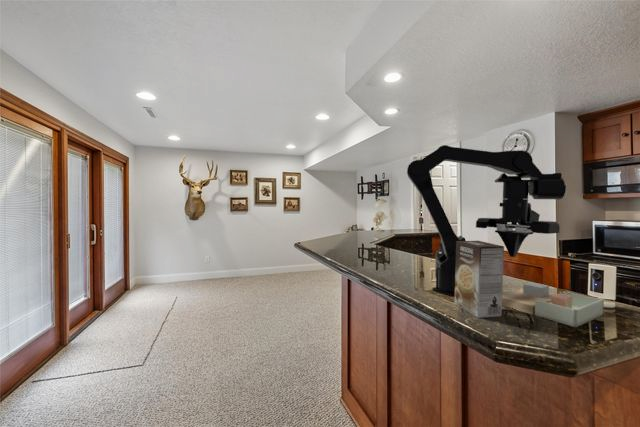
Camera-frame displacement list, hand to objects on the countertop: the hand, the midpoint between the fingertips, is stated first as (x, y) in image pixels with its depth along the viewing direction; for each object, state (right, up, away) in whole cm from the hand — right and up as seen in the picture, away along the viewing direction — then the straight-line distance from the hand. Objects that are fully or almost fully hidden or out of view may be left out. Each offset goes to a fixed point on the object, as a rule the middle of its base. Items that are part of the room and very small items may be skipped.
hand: (512, 256), depth 81 cm
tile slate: (+3, -9, -4) cm, 10 cm away
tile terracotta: (+2, -9, -12) cm, 15 cm away
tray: (+5, -11, -13) cm, 18 cm away
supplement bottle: (-10, -10, +19) cm, 24 cm away
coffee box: (-15, -11, -10) cm, 21 cm away
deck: (0, -11, -5) cm, 12 cm away
